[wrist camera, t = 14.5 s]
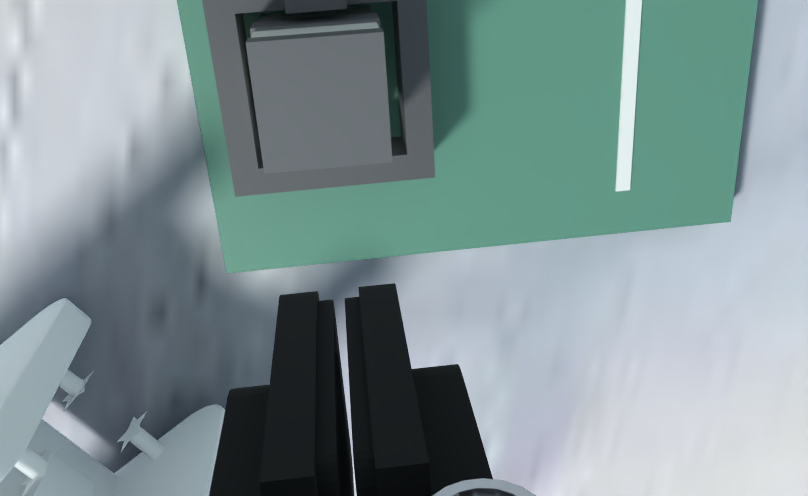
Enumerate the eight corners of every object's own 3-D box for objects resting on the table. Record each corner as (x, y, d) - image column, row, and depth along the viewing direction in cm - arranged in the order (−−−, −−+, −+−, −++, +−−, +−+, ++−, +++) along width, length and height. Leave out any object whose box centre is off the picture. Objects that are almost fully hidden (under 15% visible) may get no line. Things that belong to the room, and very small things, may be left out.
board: (717, 211, 35) (771, 254, 31) (229, 261, 34) (217, 313, 30) (764, -193, 28) (841, -207, 24) (155, -152, 27) (126, -160, 23)
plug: (380, 113, 30) (394, 162, 25) (272, 122, 30) (262, 173, 25) (371, 3, 29) (384, 29, 23) (257, 11, 28) (243, 41, 23)
